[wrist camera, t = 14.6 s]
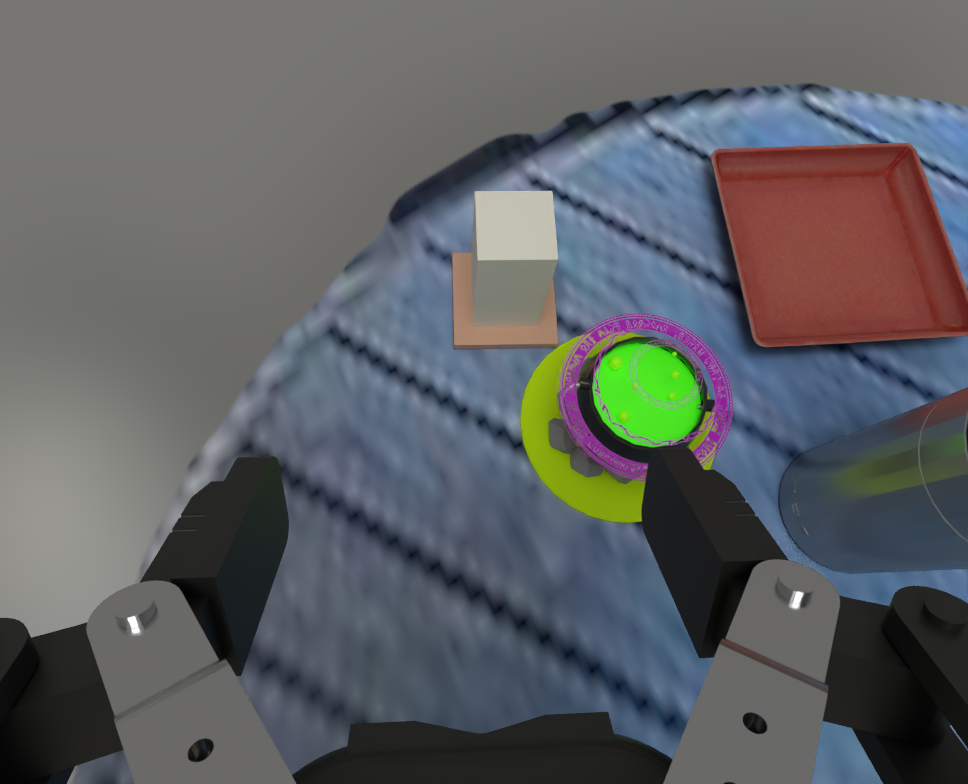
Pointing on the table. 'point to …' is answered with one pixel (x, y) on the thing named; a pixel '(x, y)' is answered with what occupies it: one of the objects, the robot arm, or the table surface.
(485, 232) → the plain off-white block
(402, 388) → the table surface
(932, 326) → the plant saucer
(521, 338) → the coaster
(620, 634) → the table surface
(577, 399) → the toy cauldron
